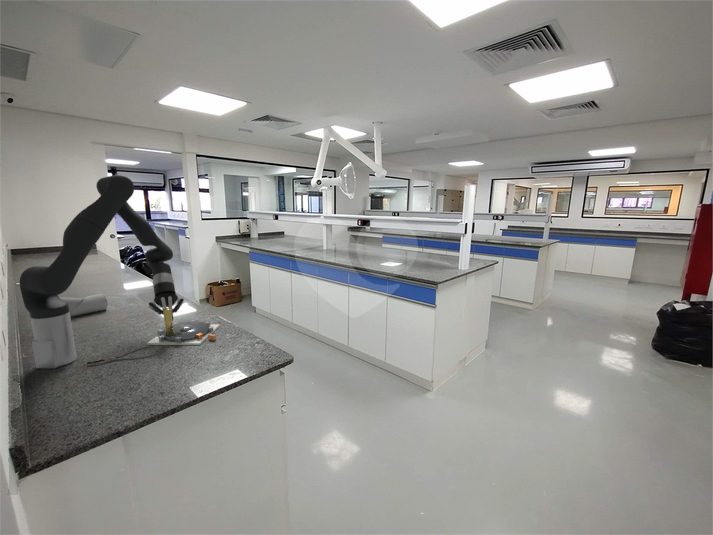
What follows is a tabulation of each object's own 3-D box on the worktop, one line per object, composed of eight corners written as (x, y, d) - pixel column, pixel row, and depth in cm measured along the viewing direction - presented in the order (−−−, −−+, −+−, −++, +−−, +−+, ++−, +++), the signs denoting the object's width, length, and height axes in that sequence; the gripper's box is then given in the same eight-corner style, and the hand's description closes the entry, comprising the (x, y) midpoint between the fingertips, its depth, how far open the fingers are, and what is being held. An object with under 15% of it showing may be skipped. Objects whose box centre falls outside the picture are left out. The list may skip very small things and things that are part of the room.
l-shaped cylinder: (56, 320, 138) (109, 309, 154) (51, 297, 137) (105, 289, 154) (46, 320, 147) (97, 310, 164) (41, 299, 147) (93, 290, 163)
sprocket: (223, 329, 132) (222, 302, 130) (174, 347, 115) (171, 316, 113) (195, 319, 143) (194, 294, 141) (146, 334, 126) (143, 305, 123)
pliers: (161, 352, 112) (90, 372, 97) (161, 354, 113) (91, 375, 97) (152, 344, 119) (85, 362, 103) (152, 346, 119) (85, 364, 104)
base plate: (210, 345, 120) (209, 340, 120) (147, 344, 119) (146, 339, 119) (229, 326, 140) (228, 322, 139) (175, 325, 139) (174, 321, 138)
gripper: (144, 282, 124) (149, 320, 116) (182, 279, 131) (188, 314, 124) (145, 292, 129) (150, 329, 121) (181, 288, 137) (187, 322, 129)
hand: (169, 321), depth 123 cm, fingers closed
